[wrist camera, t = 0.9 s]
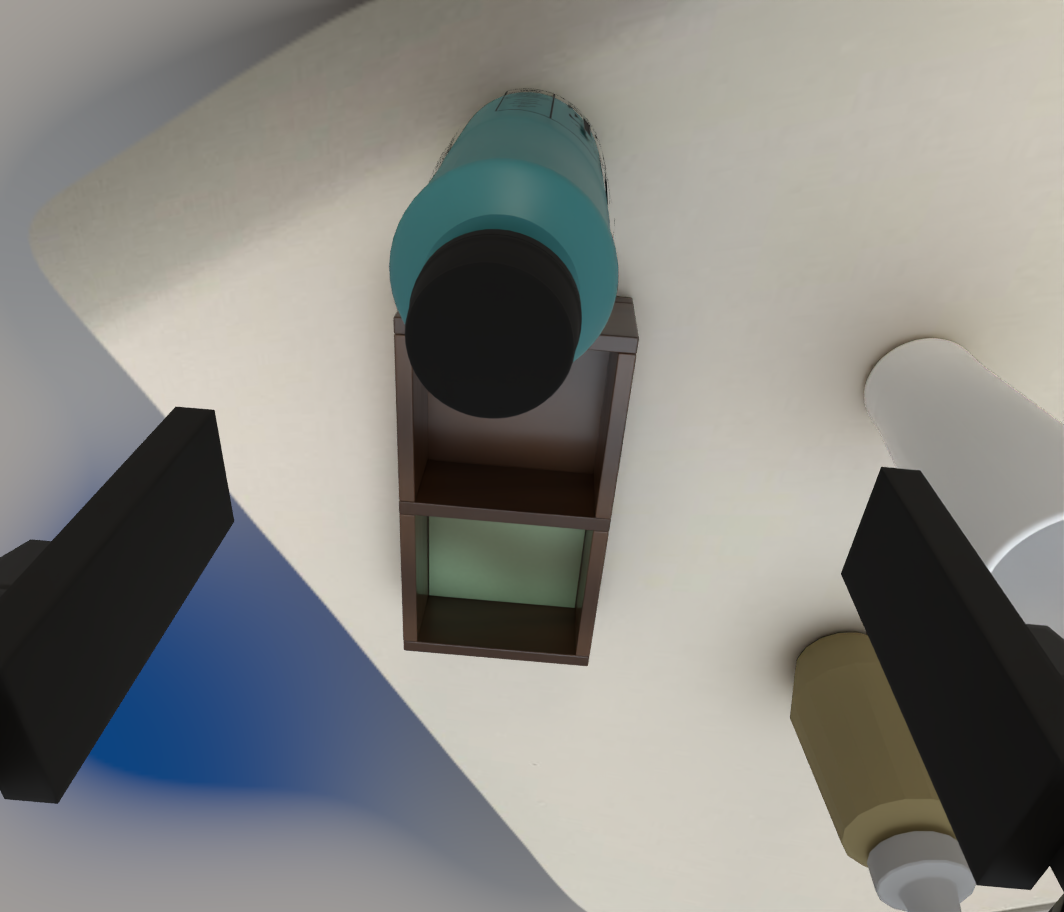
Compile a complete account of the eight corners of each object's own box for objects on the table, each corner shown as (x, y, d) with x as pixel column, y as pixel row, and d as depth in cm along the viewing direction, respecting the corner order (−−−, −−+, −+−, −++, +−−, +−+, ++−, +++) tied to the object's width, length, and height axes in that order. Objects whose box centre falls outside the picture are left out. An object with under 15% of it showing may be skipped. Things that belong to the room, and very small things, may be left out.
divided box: (413, 278, 37) (393, 316, 33) (632, 297, 37) (639, 337, 33) (418, 593, 48) (403, 650, 44) (587, 608, 48) (587, 666, 44)
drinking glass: (872, 310, 37) (1027, 490, 24) (1011, 328, 37) (1239, 517, 24) (827, 431, 40) (941, 643, 28) (954, 447, 40) (1125, 665, 28)
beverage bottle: (426, 168, 34) (278, 361, 17) (525, 42, 31) (464, 125, 14) (535, 265, 36) (499, 522, 19) (637, 155, 33) (698, 344, 16)
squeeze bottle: (751, 675, 50) (825, 980, 35) (835, 597, 46) (960, 904, 31) (846, 719, 52) (956, 1028, 37) (935, 648, 48) (1099, 961, 33)
